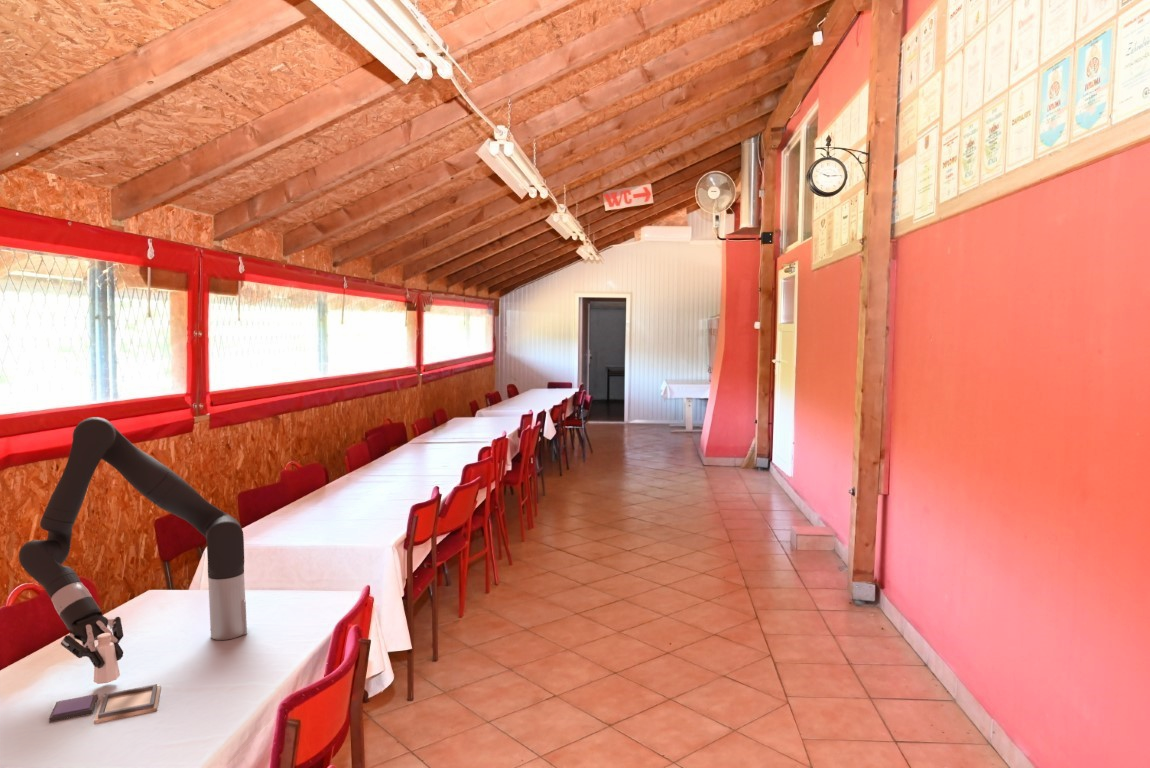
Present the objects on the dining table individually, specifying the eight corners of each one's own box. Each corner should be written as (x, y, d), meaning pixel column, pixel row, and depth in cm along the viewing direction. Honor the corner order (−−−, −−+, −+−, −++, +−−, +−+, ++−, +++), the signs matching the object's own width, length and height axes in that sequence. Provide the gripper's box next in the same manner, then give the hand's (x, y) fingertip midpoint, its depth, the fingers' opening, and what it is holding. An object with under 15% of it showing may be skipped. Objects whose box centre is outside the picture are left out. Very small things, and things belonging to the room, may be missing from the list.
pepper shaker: (107, 685, 175) (104, 640, 174) (88, 683, 176) (84, 638, 175) (125, 674, 180) (122, 630, 179) (106, 672, 181) (103, 629, 180)
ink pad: (97, 698, 172) (97, 692, 172) (92, 713, 165) (92, 708, 165) (56, 705, 169) (56, 700, 168) (49, 722, 161) (48, 716, 161)
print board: (161, 687, 177) (160, 682, 177) (157, 710, 166) (156, 704, 166) (102, 699, 171) (101, 693, 171) (94, 723, 161) (93, 717, 161)
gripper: (51, 607, 173) (87, 666, 169) (110, 587, 186) (145, 641, 182) (39, 625, 176) (74, 684, 172) (98, 604, 189) (133, 658, 184)
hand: (111, 661), depth 177 cm, fingers closed on pepper shaker, 3 cm apart
